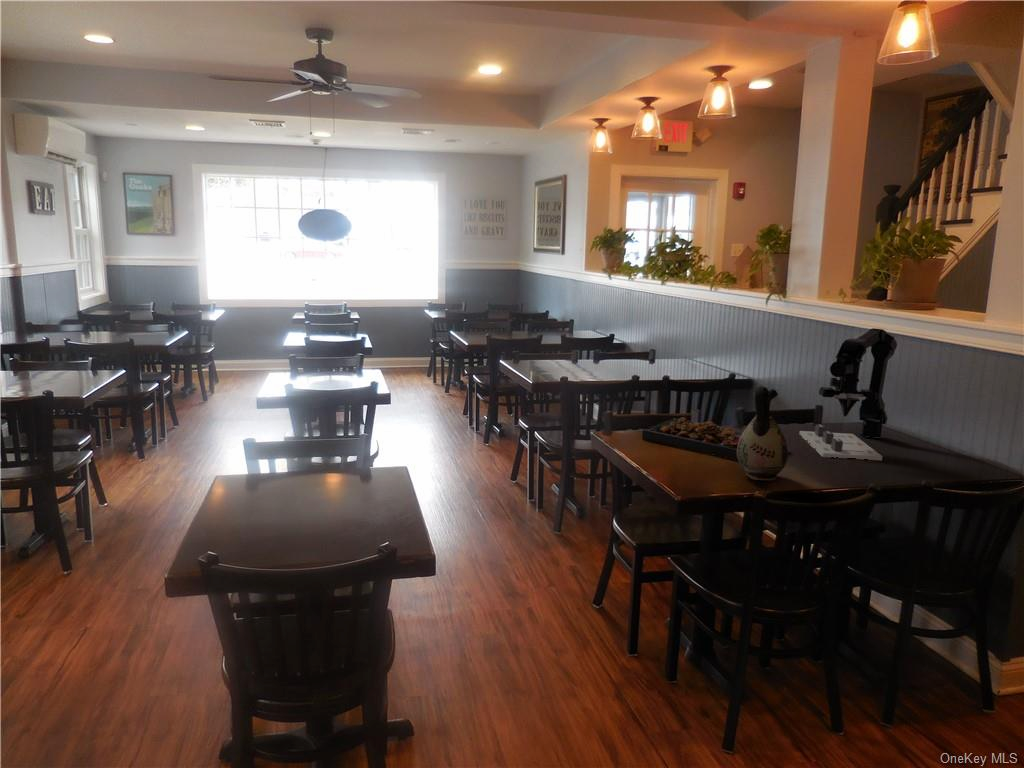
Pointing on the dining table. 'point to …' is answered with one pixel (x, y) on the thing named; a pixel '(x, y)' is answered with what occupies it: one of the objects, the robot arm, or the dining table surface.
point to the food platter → (695, 436)
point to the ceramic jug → (762, 441)
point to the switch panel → (849, 449)
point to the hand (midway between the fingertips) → (844, 416)
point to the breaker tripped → (827, 436)
